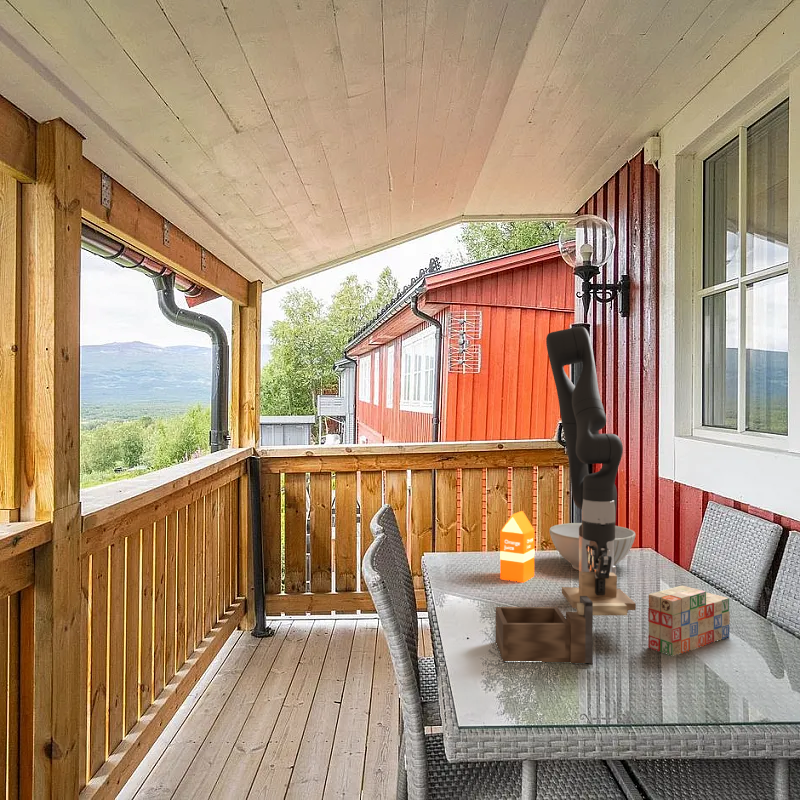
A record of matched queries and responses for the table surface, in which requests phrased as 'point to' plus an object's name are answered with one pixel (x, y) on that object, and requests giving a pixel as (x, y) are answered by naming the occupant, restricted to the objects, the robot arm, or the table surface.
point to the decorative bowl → (568, 542)
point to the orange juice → (517, 549)
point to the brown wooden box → (545, 634)
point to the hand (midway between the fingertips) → (598, 592)
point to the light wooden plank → (605, 609)
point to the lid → (589, 590)
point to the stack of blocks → (686, 619)
